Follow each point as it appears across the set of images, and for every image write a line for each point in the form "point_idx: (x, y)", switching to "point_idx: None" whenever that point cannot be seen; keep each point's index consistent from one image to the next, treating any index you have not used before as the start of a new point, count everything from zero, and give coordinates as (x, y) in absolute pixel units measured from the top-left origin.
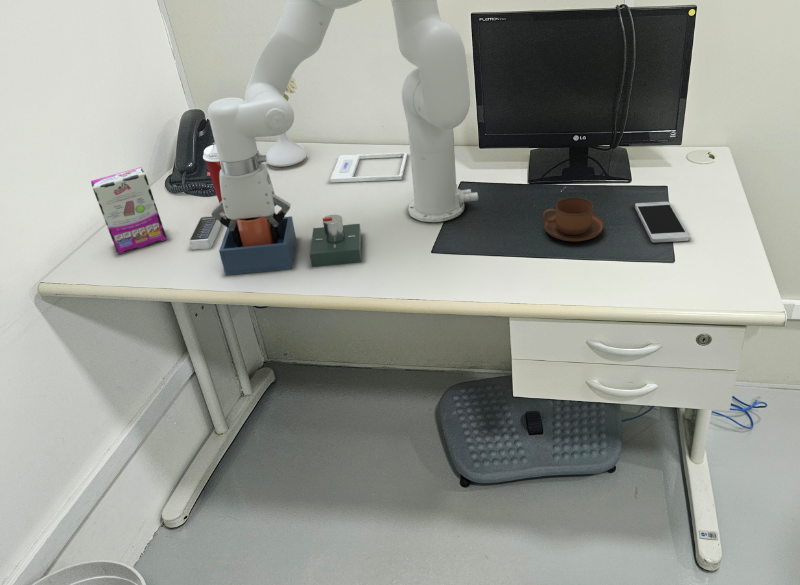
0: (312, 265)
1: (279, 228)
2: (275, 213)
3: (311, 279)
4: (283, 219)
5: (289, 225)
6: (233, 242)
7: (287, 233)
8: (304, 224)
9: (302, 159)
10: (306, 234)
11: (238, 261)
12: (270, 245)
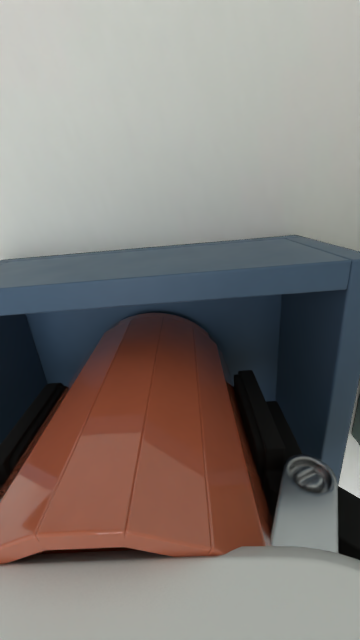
0: (355, 437)
1: (290, 435)
2: (335, 540)
3: (342, 486)
4: (307, 289)
5: (353, 393)
6: (8, 343)
7: (335, 470)
8: (347, 30)
9: None
10: (349, 180)
11: None
12: None
